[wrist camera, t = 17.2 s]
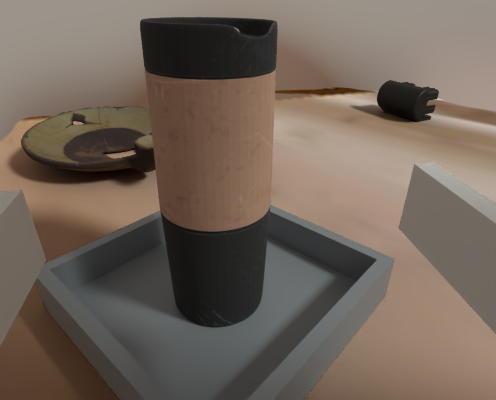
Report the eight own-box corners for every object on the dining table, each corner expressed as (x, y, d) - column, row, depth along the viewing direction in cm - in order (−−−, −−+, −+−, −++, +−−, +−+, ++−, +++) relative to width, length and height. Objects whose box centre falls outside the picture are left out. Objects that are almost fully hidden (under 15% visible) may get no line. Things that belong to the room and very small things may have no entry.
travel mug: (181, 262, 33) (158, 16, 23) (265, 265, 33) (277, 18, 23) (160, 328, 26) (114, 22, 16) (265, 333, 26) (282, 25, 16)
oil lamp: (164, 127, 71) (159, 87, 67) (211, 193, 47) (208, 137, 43) (37, 142, 63) (24, 97, 60) (15, 231, 39) (-10, 166, 35)
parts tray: (220, 213, 42) (219, 182, 40) (384, 296, 31) (394, 258, 29) (44, 308, 29) (30, 270, 27) (213, 513, 18) (209, 473, 16)
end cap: (373, 112, 80) (379, 81, 77) (396, 108, 83) (402, 78, 80) (409, 124, 73) (418, 90, 69) (433, 120, 76) (442, 87, 72)
